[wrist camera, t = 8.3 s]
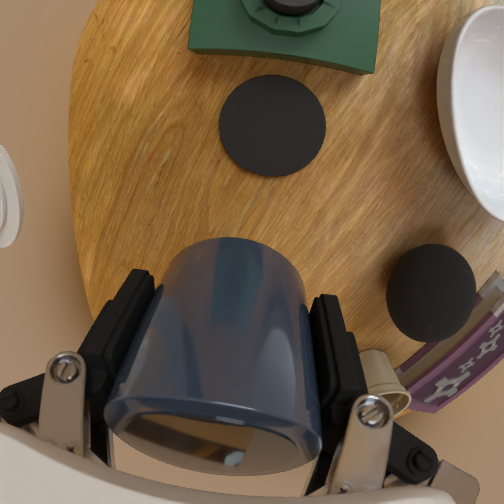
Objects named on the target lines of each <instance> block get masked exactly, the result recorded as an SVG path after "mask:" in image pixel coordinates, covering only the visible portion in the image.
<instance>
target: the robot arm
mask: <svg viewBox="0 0 504 504" xmlns="http://www.w3.org/2000/svg"><path fill="white" fill-rule="evenodd" d="M6 218H7V201H6V195H5V191H4V187H3V184H2V181H1V178H0V230H2V228H3V227H4V225H5V222H6ZM154 292H155V286H154V277H153V276H152V275H150V274H149V271H147V270H140V269H132V271H131V272H130V274H129V275H128V277H127V278H126V280H125V281H124V283H123V285H122V286H121V288H120V289H119V291H118V292H117V294H116V296H115V297H114V299H113V300H108V301H107V303H106V304H105V306H104V307H103V309H102V310H101V312H100V314H99V315H98V317H97V319H96V320H95V322H94V324H93V325H92V327H91V329H90V330H89V332H88V334H87V336H86V337H85V339H84V341H83V343H82V344H81V346H80V348H79V350H78V351H77V353H75V352H72V351H64V352H60V353H58V354H56V355H55V356H53V357H52V358H51V359H50V361H49V362H48V364H47V367H46V371H45V373H43V374H40V375H38V376H35V377H32V378H30V379H27V380H24V381H21V382H19V383H16V384H13V385H10V386H8V387H6V388H4V389H3V390H2V391H1V392H0V504H475V502H476V499H477V497H478V494H479V490H480V489H479V483H478V481H477V479H476V478H475V477H473V476H472V475H469V474H468V473H466V472H464V471H462V470H461V469H459V468H457V467H455V466H453V465H452V464H450V463H448V462H446V461H445V460H441V461H439V460H438V458H437V454H436V453H435V451H434V450H433V449H432V448H431V447H430V446H429V445H427V444H426V443H424V442H423V441H421V440H420V439H418V438H417V437H415V436H414V435H413V434H411V433H410V432H408V431H406V430H405V429H404V428H403V427H401V426H400V425H398V424H397V423H395V422H394V411H393V409H392V406H391V405H390V403H389V402H388V401H387V400H386V399H385V398H383V397H381V396H379V395H377V394H369V393H368V388H367V384H366V380H365V375H364V371H363V367H362V363H361V359H360V355H359V351H358V347H357V344H356V340H355V337H354V334H353V333H352V332H346V328H345V324H344V320H343V316H342V312H341V309H340V305H339V301H338V298H337V296H336V295H328V294H321V295H320V297H319V298H318V297H315V298H314V301H313V304H312V307H311V310H310V313H309V318H310V326H311V333H312V341H313V348H314V356H315V364H316V373H317V382H318V391H319V400H320V410H321V421H322V432H323V448H322V451H321V453H320V454H319V455H318V456H317V457H316V458H315V459H314V462H313V465H312V468H311V470H310V473H309V476H308V478H307V481H306V483H305V486H304V489H303V491H302V493H301V496H300V497H263V496H246V495H234V494H224V493H216V492H208V491H201V490H196V489H190V488H185V487H179V486H175V485H170V484H165V483H161V482H157V481H153V480H149V479H145V478H142V477H138V476H135V475H131V474H128V473H125V472H121V471H119V470H116V468H115V458H114V446H113V432H112V431H111V429H110V428H109V427H108V426H107V424H106V422H105V420H104V417H103V408H104V405H105V403H106V400H107V398H108V395H109V393H110V390H111V388H112V385H113V383H114V381H115V378H116V376H117V373H118V371H119V369H120V366H121V364H122V362H123V359H124V357H125V355H126V352H127V350H128V348H129V346H130V343H131V341H132V339H133V337H134V335H135V332H136V330H137V328H138V326H139V324H140V322H141V319H142V317H143V315H144V313H145V311H146V309H147V307H148V305H149V303H150V301H151V298H152V296H153V294H154Z"/></svg>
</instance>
